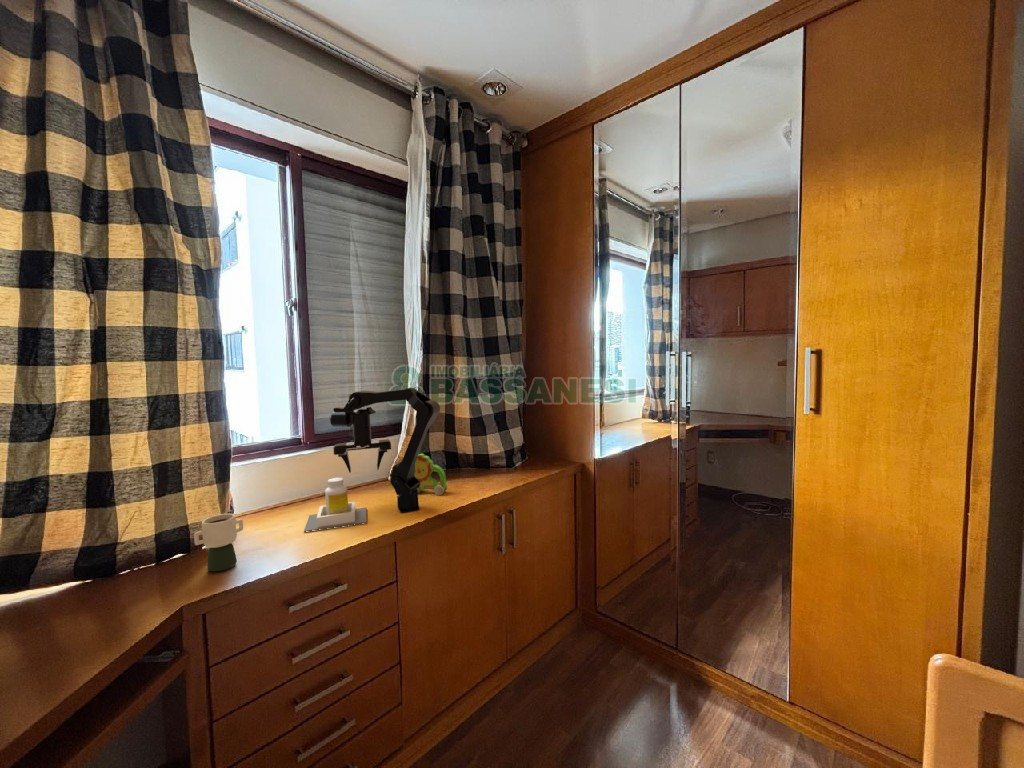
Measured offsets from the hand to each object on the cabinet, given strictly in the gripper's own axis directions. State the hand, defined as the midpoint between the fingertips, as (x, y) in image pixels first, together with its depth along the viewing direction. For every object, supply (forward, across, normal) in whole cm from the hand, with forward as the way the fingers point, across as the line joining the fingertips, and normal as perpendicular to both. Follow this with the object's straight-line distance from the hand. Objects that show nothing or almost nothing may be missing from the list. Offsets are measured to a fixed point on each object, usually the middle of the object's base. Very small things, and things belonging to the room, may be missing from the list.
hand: (364, 470), depth 150 cm
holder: (+13, +9, +9) cm, 18 cm away
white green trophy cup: (+13, +35, +32) cm, 49 cm away
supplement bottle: (+13, +9, +9) cm, 18 cm away
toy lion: (+13, -22, -7) cm, 27 cm away
